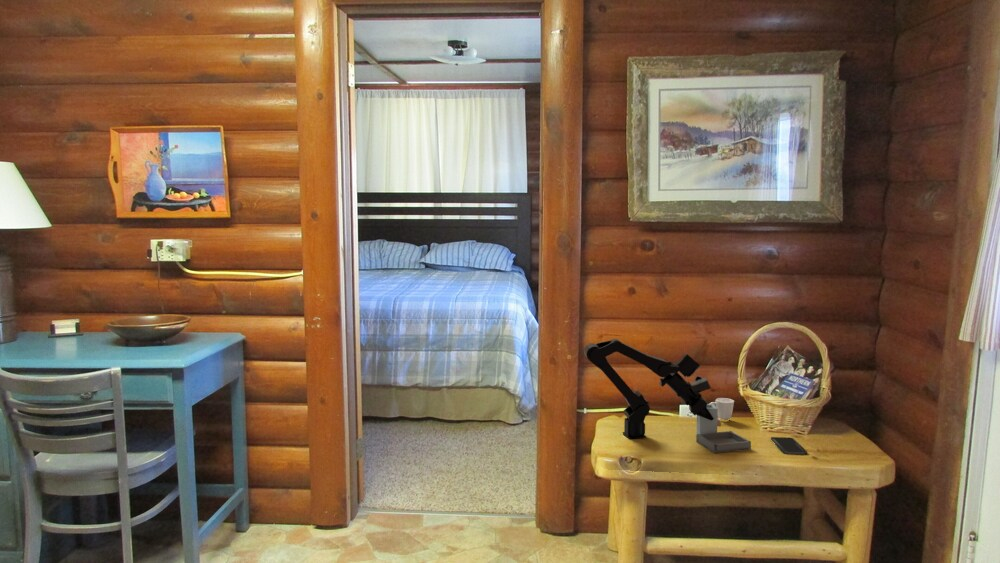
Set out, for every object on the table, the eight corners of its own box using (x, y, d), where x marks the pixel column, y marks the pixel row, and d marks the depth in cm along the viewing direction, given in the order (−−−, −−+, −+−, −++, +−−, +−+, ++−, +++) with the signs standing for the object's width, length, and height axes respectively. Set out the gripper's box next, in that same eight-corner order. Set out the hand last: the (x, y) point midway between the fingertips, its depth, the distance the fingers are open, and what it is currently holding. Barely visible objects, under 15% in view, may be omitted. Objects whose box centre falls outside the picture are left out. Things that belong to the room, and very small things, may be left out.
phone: (783, 452, 215) (769, 436, 230) (783, 455, 215) (769, 440, 230) (808, 452, 214) (793, 437, 229) (808, 456, 214) (792, 440, 229)
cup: (735, 423, 247) (736, 403, 247) (708, 422, 249) (708, 402, 248) (732, 418, 254) (732, 398, 254) (705, 417, 256) (706, 397, 255)
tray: (714, 453, 216) (714, 445, 216) (696, 442, 228) (696, 434, 227) (750, 449, 219) (750, 441, 219) (730, 438, 231) (731, 430, 230)
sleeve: (699, 438, 231) (700, 408, 230) (696, 433, 237) (697, 403, 236) (721, 439, 230) (722, 408, 229) (717, 433, 236) (718, 404, 235)
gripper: (701, 377, 223) (734, 409, 222) (691, 365, 241) (721, 394, 241) (677, 399, 224) (710, 431, 224) (669, 385, 243) (699, 415, 243)
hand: (711, 416), depth 233 cm, fingers closed on sleeve, 6 cm apart
